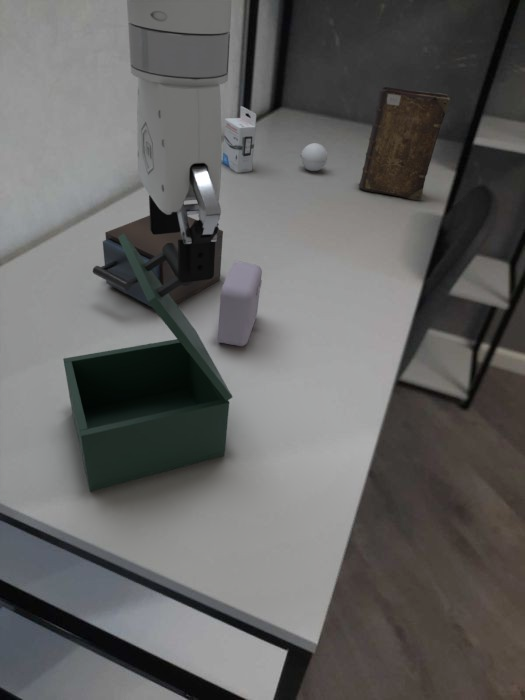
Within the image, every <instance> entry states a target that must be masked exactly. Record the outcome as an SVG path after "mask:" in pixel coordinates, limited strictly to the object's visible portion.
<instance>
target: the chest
mask: <svg viewBox="0 0 525 700" xmlns="http://www.w3.org/2000/svg"><path fill="white" fill-rule="evenodd" d="M63 366H64V372H65V378H66V383H67V389H68V395H69V401H70V407H71V413H72V417H73V423H74V427H75V431H76V436H77V440H78V446H79V449H80V450H79V451H80V454H81V458H82V464H83V468H84V472H85V477H86V481H87V486H88V490H89V491H88V492H93V491H96V490H101V489H104V488H109V487H111V486H117V485H119V484H123V483H127V482H131V481H134V480H138V479H143V478H146V477H149V476H153V475H157V474H160V473H164V472H168V471H172V470H175V469H180V468H184V467H186V466H189V465H194V464H197V463H201V462H205V461H209V460H212V459H217V458H220V457H223V456H226V455H225V454H226V443H227V432H228V423H229V422H228V421H229V412H230V411H229V410H230V401H229V400H228V401H226V400H225V398H224V397H223V396H222V395H221V393H220V392H219V391H218V390H217V388H216V387H215V386H214V385H213V383H212V382H211V381H210V379H209V378H208V377H207V376H206V374H205V373H204V372H203V371H202V369H201V368H200V367H199V366H198V364H197V363H196V362H195V361H194V359H193V358H192V357H191V355H190V354H189V353H188V352H187V350H186V349H185V348H184V347H183V345H182V344H181V343H180V342H179V340H178V339H177V338H176V339H170V340H164V341H159V342H151V343H145V344H141V345H135V346H129V347H122V348H117V349H111V350H106V351H99V352H93V353H88V354H82V355H76V356H70V357H64V358H63Z"/></svg>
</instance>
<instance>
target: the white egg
mask: <svg viewBox="0 0 525 700" xmlns="http://www.w3.org/2000/svg"><path fill="white" fill-rule="evenodd" d="M300 160H301V164H302V165H303V167H304V168H305V169H306V170H308V171H310V172H318V171H320V170H322V169H323V168H324V167H325V165H326V164H327V161H328V153H327V149H326V148H325V146H324V145H322V144H320V143H317V142H313V143H310V144H307V145H306V146H305V147H304V148H303V149H302V151H301V154H300Z"/></svg>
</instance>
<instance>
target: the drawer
mask: <svg viewBox="0 0 525 700" xmlns="http://www.w3.org/2000/svg"><path fill="white" fill-rule="evenodd" d="M102 250H103V261H104V265H102V266H99V265H95V266H94V267H93V269H92V273H93V274H94V275H95V276H98V277H99V278H101V279H103V280H104V281H105V282H106V285H108V286H111V287H113V288H115V289H117V290H118V291H120V292H122V293H124V294H126V295H127V296H130V297H132V298H134V299H135V300H137V301H139V302H141V303H143V304H144V305H146V306H148V307H150V308H152V309H153V307H152V306H151V305H150V304H149V302H148V300H147V298H146V296H145V294H144V292H143V290H142V288H141V286H140V283H139V281H138V279H137V277H136V275H135V273H134V271H133V269H132V267H131V264H130V262H129V260H128V258H127V256H126V254H125V252H124V250H123V248H122V246H121V244H120V243H115V242H113V241H111V240H109V239H107V240H106V239H104V240H102ZM139 254H140V253H139ZM140 256H141V257H142V258H143V260H144V261H145V262H147V261H149V260H150V259H151V258H149V257H147V256H145V255H142V254H140ZM151 271H152V272H153V273H154V275H155V276H156V277H157V279H158V280H159V281H160V265H158V266H156V267H155V268H153V269H152V270H151Z"/></svg>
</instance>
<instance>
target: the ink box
mask: <svg viewBox="0 0 525 700" xmlns="http://www.w3.org/2000/svg"><path fill="white" fill-rule="evenodd" d="M239 108H240V109H239V110H240V112H239V117H232V118H231V117H230V118H229V117H228V118H224V133H223V148H222V149H223V151H222V163H223V164H224V165H225V166H227V167H228V168H230V170H232V171H234V172H235V173H236V174H240V173H249V172H253V163H254V162H253V161H254V151H255V141H256V139H255V138H256V128H257V127H256V125H257V114H256V113H255V112H253V111H252V110H250V109H248V108H246V107H244V106H242V105H240V107H239ZM247 115H248V116H247ZM249 116H250V117H249Z"/></svg>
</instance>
